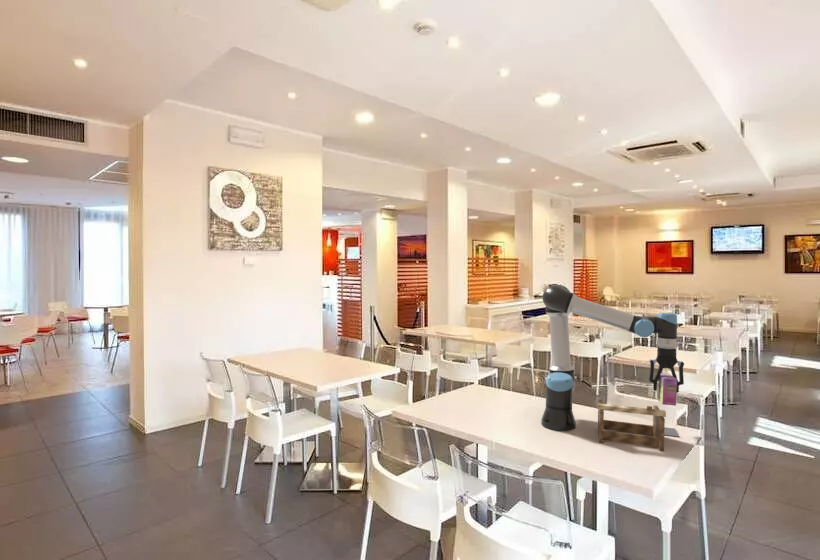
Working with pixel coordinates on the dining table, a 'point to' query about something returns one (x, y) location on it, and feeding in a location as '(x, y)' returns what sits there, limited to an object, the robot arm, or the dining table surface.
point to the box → (667, 389)
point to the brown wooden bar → (632, 409)
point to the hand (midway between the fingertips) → (665, 398)
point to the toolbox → (632, 431)
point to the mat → (670, 432)
